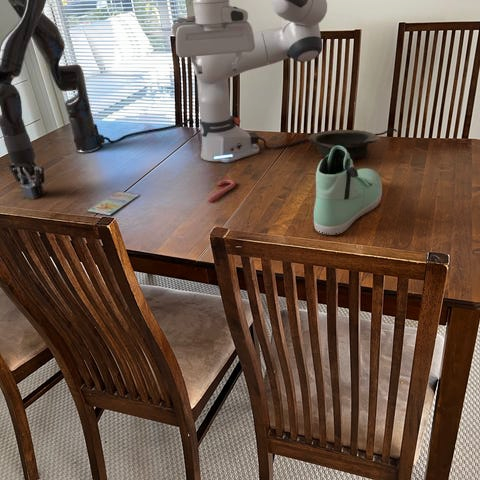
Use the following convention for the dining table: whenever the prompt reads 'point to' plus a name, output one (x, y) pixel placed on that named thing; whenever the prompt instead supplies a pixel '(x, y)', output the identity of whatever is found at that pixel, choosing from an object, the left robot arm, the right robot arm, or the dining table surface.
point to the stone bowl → (343, 141)
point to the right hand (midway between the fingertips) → (217, 72)
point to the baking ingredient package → (113, 203)
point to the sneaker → (343, 192)
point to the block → (30, 190)
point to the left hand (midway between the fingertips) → (34, 193)
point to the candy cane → (222, 189)
